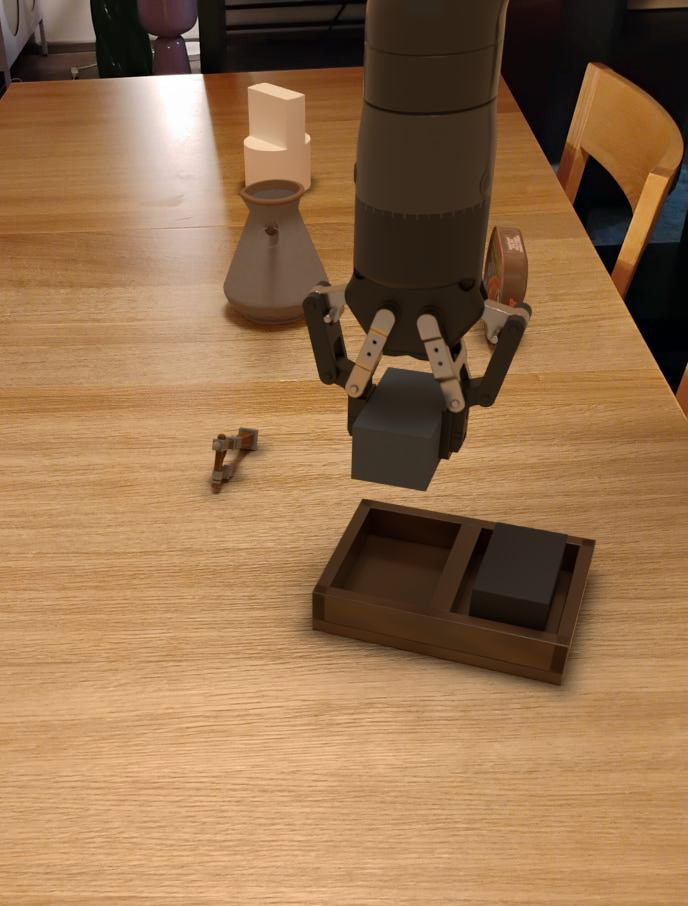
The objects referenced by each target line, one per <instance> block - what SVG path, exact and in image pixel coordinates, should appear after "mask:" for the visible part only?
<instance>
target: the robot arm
mask: <svg viewBox="0 0 688 906" xmlns="http://www.w3.org/2000/svg"><path fill="white" fill-rule="evenodd" d="M509 2H510V0H367V1H366V10H365V17H364V18H365V19H364V43H363V44H364V45H363V72H362V74H363V76H362V99H361V100H362V101H361V110H360V117H359V118H360V119H359V125H358V130H357V138H356V150H355V162H354V165H353V183H354V185H355V187H354V217H353V219H354V223H353V254H352V256H353V257H352V265H353V266H352V267H353V269H352V273H351V274H352V275H351V278H350V279H349V281H348V282H347V283H343V284H337V285H332V284H331V283H330V282H329V283H328V282H326V281H320V282H318V283H317V284H316V286H315V287H314V288H313V289H312V290H311V291H310V292H309V294H308V295H307V297H306V298H305V299H304V301H303V304H302V306H303V311H304V315H305V317H304V319H305V323H306V328H307V332H308V335H309V336H308V337H309V340H310V344H311V348H312V353H313V358H314V361H315V364H316V365H315V366H316V370H317V375H318V378H319V380H320V382H321V384H324V385H326V386H333V385H336V386H338V387H340V388H343V390H344V391H345V393H346V394H347V417H346V418H347V422H346V423H347V424H346V429H347V433H348V435H349V437H352V427H353V424H354V423H355V421H356V419H357V418H358V416H359V414H360V413H361V411H362V409H363V408H364V406H365V404H366V403H367V402H368V400H369V399H370V397H371V395H372V394H373V392H374V390H375V389H376V386H377V385H378V383H373V377H374V376H375V374H376V371H377V369H378V367H379V365H380V362H381V360H382V358H383V356H385V357H393V358H395V357H397V358H398V357H404V356H406V357H407V356H408V357H410V358H413V359H415V360H418V361H421V362H422V361H423V362H429V364H430V368H431V371H432V373H433V375H434V378H435V380H436V381H437V382H439V384H440V388H441V391H442V394H443V398H444V401H445V406H444V408H443V410H442V424H441V434H440V445H439V455H438V458H439V459H441V460H446V461H450V459H451V456H452V455H453V453H455V454H458V453H459V452H460V450H461V449H462V447H463V445H464V443H465V440H466V438H467V435H468V426H469V417H470V409H471V408H473V407H475V406H479V407H481V408H490V407H492V406H493V405H494V404H495V403H496V400H497V397H498V395H499V393H500V391H501V389H502V386H503V384H504V381H505V379H506V377H507V374H508V372H509V370H510V367H511V365H512V362H513V360H514V358H515V355H516V353H517V350H518V349H519V345H520V343H521V341H522V339H523V336H524V335H525V332H526V329H527V327H528V324H529V322H530V319H531V317H532V315H533V309H532V307H531V306H530V304H528V303H527V302H524V301H523V302H519V303H517V304H515V305H514V306H513V307H510V306H507V305H504V304H502V303H499V302H496V301H493V300H490V299H488V293H487V291H486V288H485V286H484V283H483V273H484V264H485V253H486V246H487V236H488V229H489V228H488V227H489V219H490V209H491V201H492V193H493V185H494V175H495V167H496V158H497V147H498V97H499V96H498V95H499V94H498V93H499V87H500V79H501V69H502V62H503V61H502V60H503V52H504V51H503V50H504V44H505V43H504V42H505V34H506V33H505V32H506V19H507V10H508V6H509ZM345 305H346V306H347V307H348V309H349V310H350V312H351V313H352V315H353V316H354V318H355V320H356V321H357V323H358V324H359V326H360V327H361V329H362V330H363V332H364V333H365V335H366V337H365V338H364V341H363V344H362V346H361V348H360V350H359V352H358V355H357V358H356V359H355V361H354V360H351V359H349V356H348V352H347V348H346V343H345V339H344V334H343V329H342V324H341V320H340V319H341V318H342V316H343V315H344V313H345ZM480 320H481V321H483V323H484V322H485V323H486V325H487V337H486V338H487V340H488V342H489V343H491V344H493V345H495V347H494V349H493V351H492V353H491V356H490V359H489V362H488V363H487V365H486V369H485V371H484V374H483V376H478V377H473V378H472V374H471V371H470V366H469V363H468V351H467V345H466V342H465V339H464V336H466V334H467V333H468V332H469V331H470V330H472V329H473V327H474V326H475V325H476V324H478V322H479V321H480ZM485 323H484V324H485Z"/></svg>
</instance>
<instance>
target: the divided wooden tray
mask: <svg viewBox="0 0 688 906" xmlns="http://www.w3.org/2000/svg"><path fill="white" fill-rule="evenodd" d="M496 522H497V521H492V520H487V519H480V518H476V517H469V516H463V515H458V514H452V513H447V512H442V511H436V510H429V509H424V508H419V507H414V506H413V507H412V506H408V505H403V504H397V503H391V502H387V501H386V502H385V501H380V500H374V499H368V498H364V497H363V498H361V500H360V502H359V504H358V506H357V508H356V509H355V510H354V513H353V515H352V517H351V518H350V520H349V522H348V524H347V526H346V528H345V530H344V532H343V534H342V535H341V537H340V539H339V541H338V543H337V544H336V546H335V549H334V551H333V553H332V554H331V556H330V558H329V560H328V562H327V563H326V565H325V567H324V569H323V570H322V573H321V574H320V577H319V578H318V580H317V582H316V584H315V586H314V588H313V590H312V591H311V629H312V630H316V631H321V632H324V633H329V634H333V635H337V636H342V637H348V638H352V639H356V640H360V641H364V642H369V643H372V644H373V643H374V644H377V645H381V646H387V647H391V648H394V649H399V650H403V651H409V652H413V653H418V654H422V655H427V656H431V657H436V658H440V659H444V660H447V661H448V660H449V661H453V662H456V663H457V662H458V663H462V664H467V665H470V666H475V667H479V668H484V669H488V670H493V671H497V672H501V673H506V674H510V675H515V676H520V677H522V678H528V679H532V680H537V681H542V682H546V683H550V684H555V685H559V686H561V685H562V682H563V680H564V679H563V678H564V676H565V671H566V667H567V663H568V659H569V654H570V650H571V646H572V643H573V638H574V635H575V631H576V627H577V622H578V618H579V614H580V611H581V607H582V602H583V599H584V595H585V591H586V587H587V582H588V579H589V575H590V571H591V565H592V561H593V557H594V552H595V548H596V544H597V539H592V538H587V537H581V536H575V535H571V534H570V535H569V534H567V535H568V537H567V542H566V547H565V552H564V557H563V562H562V566H561V571H560V576H559V580H558V584H557V587H556V591H555V595H554V598H553V602H552V606H551V609H550V613H549V616H548V620H547V624H546V627H545V631H544V632H543V631H538V630H533V629H528V628H524V627H519V626H514V625H509V624H505V623H500V622H495V621H490V620H486V619H481V618H476V617H471V616H469V609H470V601H471V594H472V588H473V585H474V582H475V580H476V577H477V574H478V571H479V569H480V566H481V563H482V560H483V558H484V555H485V552H486V549H487V547H488V544H489V541H490V539H491V536H492V533H493V530H494V528H495V525H496Z"/></svg>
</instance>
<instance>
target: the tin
mask: <svg viewBox="0 0 688 906" xmlns="http://www.w3.org/2000/svg"><path fill="white" fill-rule="evenodd" d="M528 276H529V260H528V255H527V251H526V247H525V242H524V238H523V234H522V231H521V229H520V228H517V227H508V226H499V225H495V226H493V227H492V230H491V234H490V237H489V241H488V246H487V251H486V256H485V261H484V267H483V276H482V278H483V283H484V286H485V288H486V291H487V293H488V299H490V300H493V301H496V302H499V303H502V304H504V305H507V306H510V307H513V306H514V305H515V304H517V303H519V302H524V301H525V298H526V294H527V289H528V281H529V280H528V279H529V277H528ZM483 323H484V330H485V336H486V338H487V325H486V323H485V322H484V321H483Z"/></svg>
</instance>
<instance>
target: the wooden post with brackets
mask: <svg viewBox="0 0 688 906" xmlns="http://www.w3.org/2000/svg"><path fill="white" fill-rule="evenodd" d="M258 439H259V429H256V428H250V427H243V426H239V427H238V433H237V435H235V436H234V435H231V436H227V434H224V433H219V434H217V437H216V438H213V439H212V442H211V443H212V444H211V451H215V455H214V463H213V470H211V471H212V472H211V479H212V481H211V488H214V489H220V488H221V483H222V480H223V479H224V480H230V478H231V477H234V470H235V469H234V467H235V466H234V465H228V464H224V461H225V458H226V456H227V452H228V451H229V450H232V451H236V450H238V449H248V450H254V451H255V450H257V448H258Z"/></svg>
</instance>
